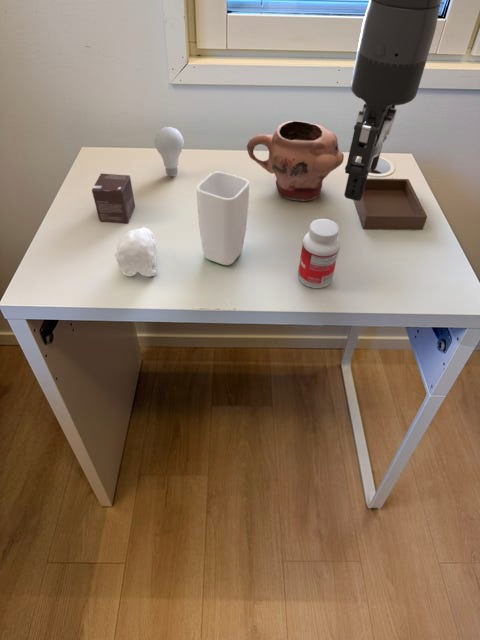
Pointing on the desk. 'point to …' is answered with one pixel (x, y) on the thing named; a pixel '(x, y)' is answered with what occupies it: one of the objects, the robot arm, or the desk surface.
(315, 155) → the pink face mug
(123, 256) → the white lumpy curved piece
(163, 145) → the lightbulb
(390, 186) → the tray
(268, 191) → the desk surface
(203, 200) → the cup
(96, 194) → the box
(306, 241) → the pill bottle
